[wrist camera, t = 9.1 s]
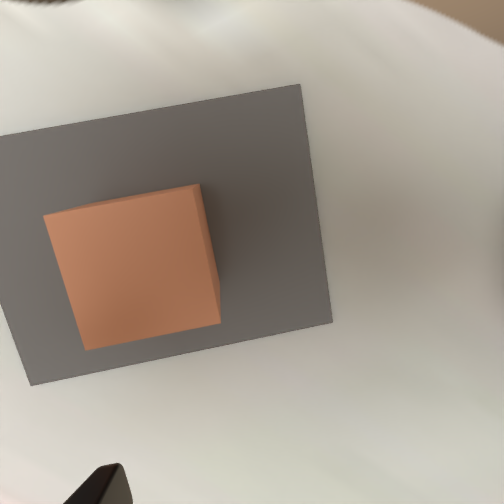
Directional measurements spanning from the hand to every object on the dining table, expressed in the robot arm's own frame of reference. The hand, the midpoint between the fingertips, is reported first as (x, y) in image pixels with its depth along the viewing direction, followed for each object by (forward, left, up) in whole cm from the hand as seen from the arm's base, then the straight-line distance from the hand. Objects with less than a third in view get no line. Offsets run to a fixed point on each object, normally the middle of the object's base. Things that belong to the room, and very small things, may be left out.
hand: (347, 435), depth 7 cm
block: (+5, -3, -12) cm, 13 cm away
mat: (+5, -3, -12) cm, 13 cm away
